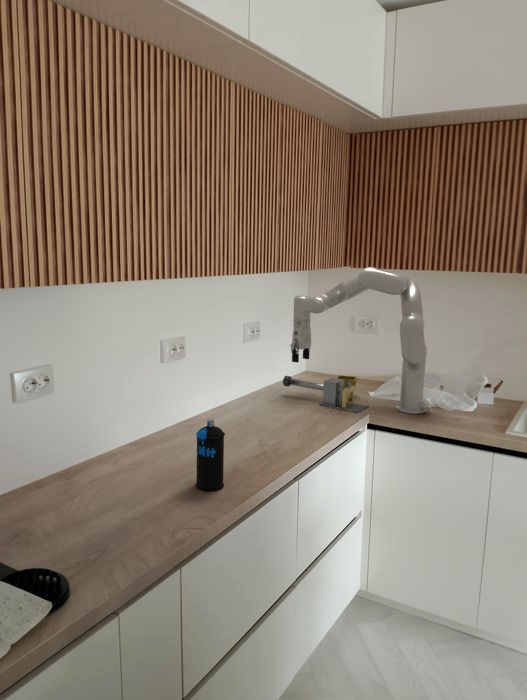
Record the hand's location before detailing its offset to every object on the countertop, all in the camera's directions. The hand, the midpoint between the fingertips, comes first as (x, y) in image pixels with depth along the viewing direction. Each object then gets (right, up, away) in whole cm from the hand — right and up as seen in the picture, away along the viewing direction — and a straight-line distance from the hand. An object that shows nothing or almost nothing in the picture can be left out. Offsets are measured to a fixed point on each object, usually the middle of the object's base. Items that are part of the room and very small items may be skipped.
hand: (300, 360), depth 268 cm
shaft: (+5, -14, -1) cm, 15 cm away
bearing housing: (+14, -19, -6) cm, 25 cm away
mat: (+22, -21, -11) cm, 32 cm away
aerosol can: (-32, -35, -98) cm, 109 cm away
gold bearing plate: (+20, -20, -10) cm, 30 cm away
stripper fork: (+19, -20, -9) cm, 29 cm away
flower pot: (+22, -17, +9) cm, 29 cm away
